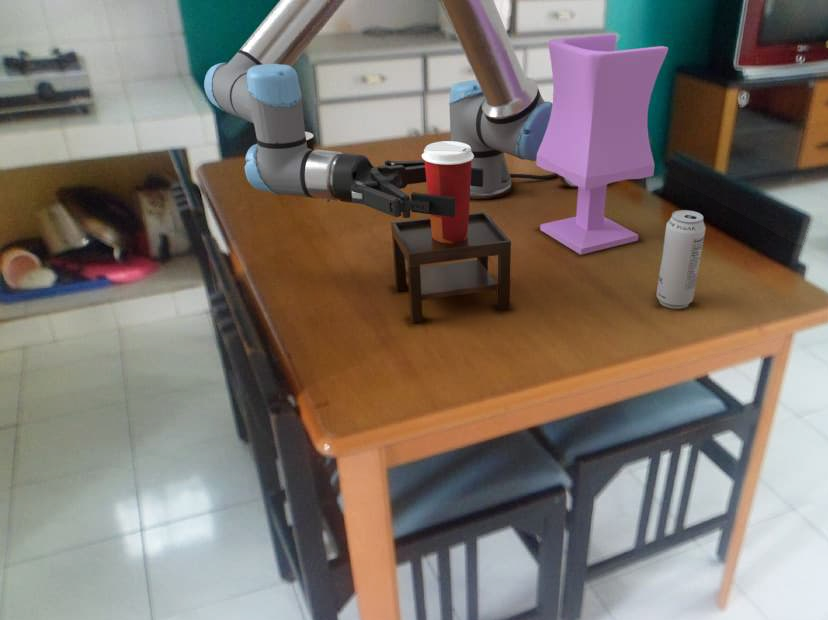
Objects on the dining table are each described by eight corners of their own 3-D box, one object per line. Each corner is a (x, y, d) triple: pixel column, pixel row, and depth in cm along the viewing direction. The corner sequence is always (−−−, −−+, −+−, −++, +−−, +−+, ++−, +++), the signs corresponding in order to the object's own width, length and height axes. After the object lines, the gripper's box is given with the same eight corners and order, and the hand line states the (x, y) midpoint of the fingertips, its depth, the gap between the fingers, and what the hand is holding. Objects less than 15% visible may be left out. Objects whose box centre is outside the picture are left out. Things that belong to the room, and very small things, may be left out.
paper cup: (481, 230, 120) (481, 143, 113) (463, 249, 114) (462, 157, 106) (436, 224, 122) (433, 137, 115) (416, 241, 116) (412, 151, 108)
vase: (644, 241, 145) (669, 47, 126) (579, 257, 139) (595, 55, 119) (596, 215, 156) (612, 33, 137) (533, 229, 150) (541, 39, 130)
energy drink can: (662, 290, 128) (675, 206, 120) (697, 299, 125) (712, 213, 117) (650, 304, 123) (662, 218, 115) (685, 313, 121) (700, 226, 113)
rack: (485, 275, 132) (485, 211, 125) (509, 309, 121) (511, 241, 115) (395, 287, 127) (391, 222, 121) (412, 323, 117) (408, 253, 110)
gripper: (375, 175, 130) (492, 189, 125) (305, 228, 110) (441, 246, 105) (372, 132, 126) (493, 144, 121) (298, 178, 106) (439, 195, 101)
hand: (469, 192), depth 113 cm, fingers open, 13 cm apart
